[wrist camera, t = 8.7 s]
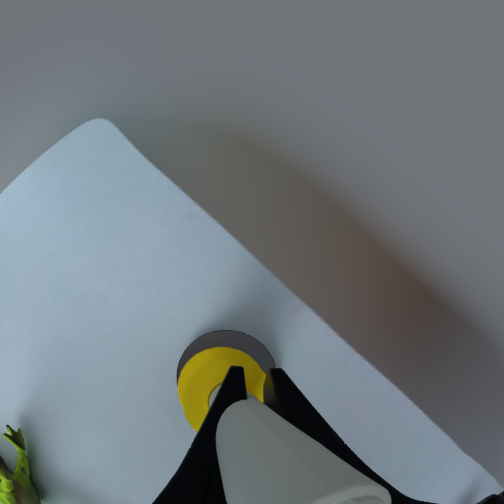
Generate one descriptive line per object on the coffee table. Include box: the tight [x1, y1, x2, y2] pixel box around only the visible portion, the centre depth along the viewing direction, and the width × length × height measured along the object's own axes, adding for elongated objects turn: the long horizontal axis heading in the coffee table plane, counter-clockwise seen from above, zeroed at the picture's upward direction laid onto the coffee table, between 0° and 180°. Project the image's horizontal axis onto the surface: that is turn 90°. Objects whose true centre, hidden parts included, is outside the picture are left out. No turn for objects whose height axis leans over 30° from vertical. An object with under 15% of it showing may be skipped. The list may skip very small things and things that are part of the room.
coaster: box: [177, 330, 276, 385], centre depth 18 cm, size 7×7×1 cm
